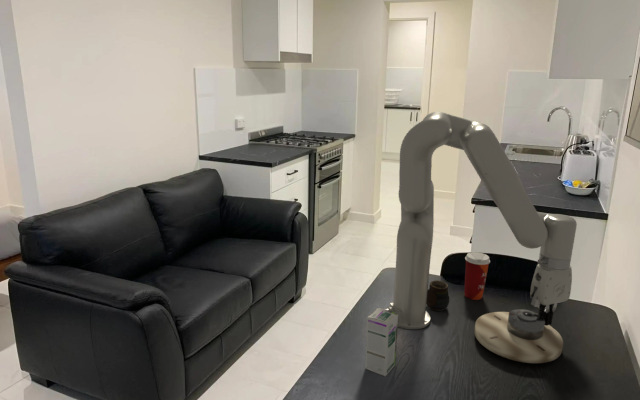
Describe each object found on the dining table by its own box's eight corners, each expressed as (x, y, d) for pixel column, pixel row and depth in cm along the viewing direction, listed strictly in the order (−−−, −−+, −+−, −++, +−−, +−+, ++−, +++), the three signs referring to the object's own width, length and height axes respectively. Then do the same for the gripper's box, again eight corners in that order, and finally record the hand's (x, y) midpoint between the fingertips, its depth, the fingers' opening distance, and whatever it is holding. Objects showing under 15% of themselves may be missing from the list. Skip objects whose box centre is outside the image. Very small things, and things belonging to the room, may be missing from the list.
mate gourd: (440, 300, 153) (443, 271, 150) (453, 312, 146) (457, 282, 143) (420, 303, 151) (423, 274, 148) (433, 315, 144) (436, 285, 141)
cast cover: (523, 342, 124) (526, 324, 123) (499, 324, 132) (502, 308, 131) (550, 336, 127) (553, 319, 126) (525, 319, 135) (528, 303, 134)
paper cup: (487, 302, 152) (492, 261, 148) (462, 299, 154) (466, 259, 150) (484, 291, 160) (488, 252, 156) (460, 289, 161) (464, 250, 157)
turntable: (514, 370, 116) (515, 363, 115) (458, 325, 136) (458, 318, 135) (581, 353, 124) (582, 346, 123) (519, 312, 143) (520, 306, 143)
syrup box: (386, 377, 115) (389, 323, 111) (364, 368, 118) (366, 316, 114) (395, 365, 120) (399, 313, 116) (374, 357, 123) (377, 306, 119)
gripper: (543, 270, 121) (533, 334, 126) (587, 262, 126) (576, 324, 131) (521, 259, 127) (513, 321, 133) (563, 252, 133) (554, 311, 138)
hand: (544, 322), depth 132 cm, fingers closed
